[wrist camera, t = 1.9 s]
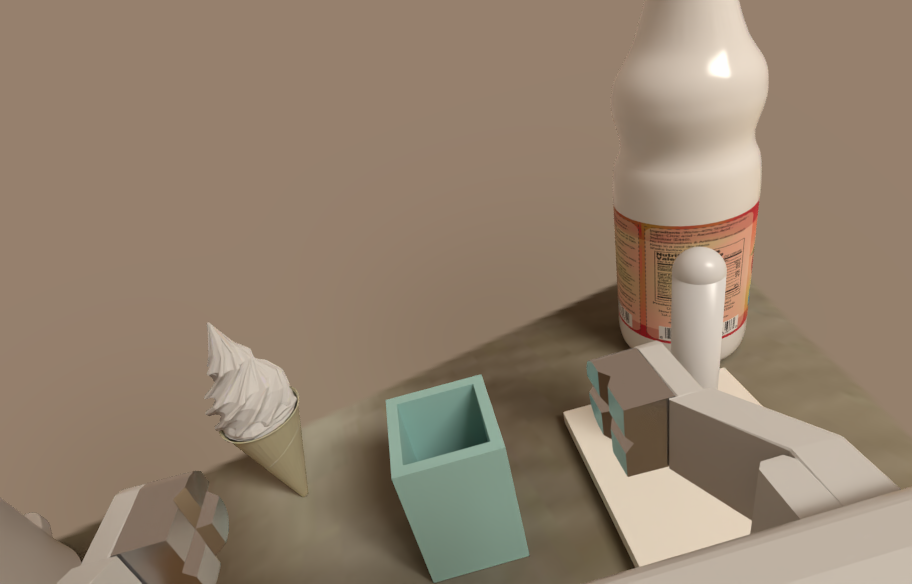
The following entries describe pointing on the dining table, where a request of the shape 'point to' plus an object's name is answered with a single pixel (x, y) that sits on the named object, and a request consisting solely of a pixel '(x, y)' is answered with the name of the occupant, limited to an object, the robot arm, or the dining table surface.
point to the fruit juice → (686, 159)
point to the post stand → (664, 491)
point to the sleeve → (454, 478)
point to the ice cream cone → (256, 409)
